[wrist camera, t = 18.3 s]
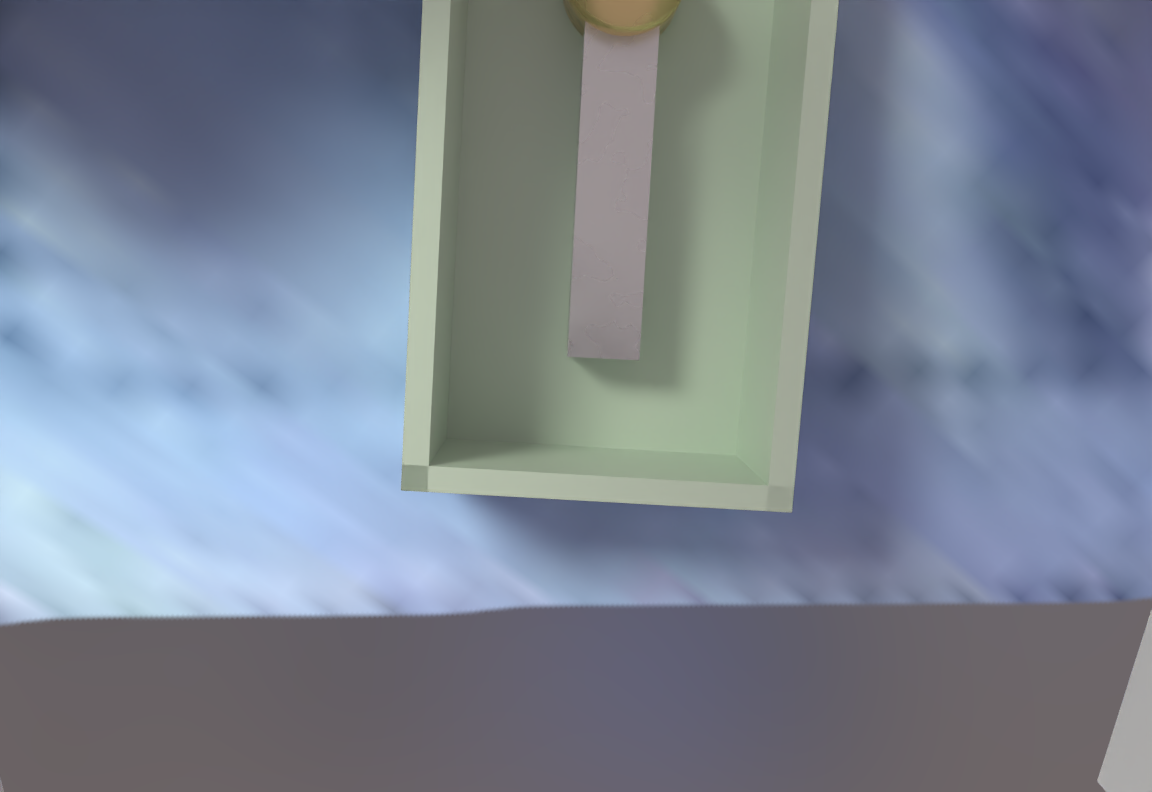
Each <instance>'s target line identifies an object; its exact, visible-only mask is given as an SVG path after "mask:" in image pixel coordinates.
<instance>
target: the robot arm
mask: <svg viewBox="0 0 1152 792" xmlns="http://www.w3.org/2000/svg"><path fill="white" fill-rule="evenodd" d="M1097 781H1098V783H1099V784H1100V785H1101V786H1102V788H1103V789H1104V790H1105V791H1106V792H1152V610H1151V613H1150V616H1149V619H1148V623H1147V626H1146V629H1145V632H1144V635H1143V638H1142V641H1141V644H1140V648H1139V651H1138V654H1137V657H1136V660H1135V664H1134V667H1133V670H1132V673H1131V676H1130V679H1129V682H1128V686H1127V689H1126V692H1125V695H1124V698H1123V702H1122V705H1121V708H1120V711H1119V714H1118V717H1117V721H1116V724H1115V727H1114V730H1113V733H1112V736H1111V739H1110V743H1109V746H1108V749H1107V752H1106V755H1105V759H1104V761H1103V765H1102V768H1101V771H1100V774H1099V777H1098V780H1097ZM0 792H4V791H3V787H2V783H1V779H0Z"/></svg>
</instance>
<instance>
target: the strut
mask: <svg viewBox="0 0 1152 792" xmlns="http://www.w3.org/2000/svg"><path fill="white" fill-rule="evenodd" d="M680 2H681V0H563V3H564V7H565V10H566V13H567V15H568V17H569V19H570V21H571V23H572V24H573V26H574V27H575V28H576V30H577V31H578V32H579V33H580V34H581V35H582V36H583V47H582V66H581V85H580V104H579V123H578V142H577V161H576V180H575V200H574V219H573V238H572V257H571V276H570V295H569V314H568V334H567V356H568V357H583V358H603V359H622V360H639V357H640V341H641V324H642V308H643V292H644V275H645V259H646V242H647V226H648V210H649V193H650V177H651V160H652V144H653V128H654V111H655V95H656V79H657V62H658V46H659V36H660V35H661V34H662V33H663V32H664V31H665V29H666V28H667V27H668V25H669V24H670V22H671V20H672V19H673V17H674V15H675V13H676V10H677V8H678V6H679V4H680Z"/></svg>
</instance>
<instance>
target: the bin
mask: <svg viewBox="0 0 1152 792" xmlns="http://www.w3.org/2000/svg"><path fill="white" fill-rule="evenodd" d="M838 5H839V0H681V2H680V4H679V6H678V8H677V10H676V13H675V15H674V17H673V19H672V20H671V22H670V24H669V25H668V27H667V28H666V29H665V31H664V32H663V33H662V34H661V35H660V36H659V46H658V62H657V79H656V95H655V111H654V128H653V144H652V160H651V177H650V193H649V210H648V226H647V242H646V259H645V275H644V292H643V308H642V324H641V341H640V357H639V360H622V359H603V358H583V357H568V356H567V334H568V314H569V295H570V276H571V257H572V238H573V219H574V200H575V180H576V161H577V142H578V123H579V104H580V85H581V66H582V47H583V36H582V35H581V34H580V33H579V32H578V31H577V30H576V28H575V27H574V26H573V24H572V23H571V21H570V19H569V17H568V15H567V13H566V10H565V7H564V3H563V0H423V3H422V26H421V48H420V71H419V94H418V116H417V139H416V162H415V184H414V207H413V229H412V252H411V275H410V297H409V320H408V343H407V365H406V388H405V411H404V433H403V456H402V479H401V490H403V491H421V492H438V493H456V494H474V495H491V496H509V497H526V498H544V499H562V500H579V501H597V502H614V503H632V504H650V505H667V506H685V507H702V508H720V509H738V510H755V511H773V512H790V513H792V506H793V495H794V484H795V473H796V463H797V452H798V441H799V430H800V419H801V408H802V397H803V386H804V375H805V364H806V354H807V343H808V332H809V321H810V310H811V299H812V288H813V277H814V266H815V255H816V245H817V234H818V223H819V212H820V201H821V190H822V179H823V168H824V157H825V146H826V136H827V125H828V114H829V103H830V92H831V81H832V70H833V59H834V48H835V37H836V27H837V16H838Z"/></svg>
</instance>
